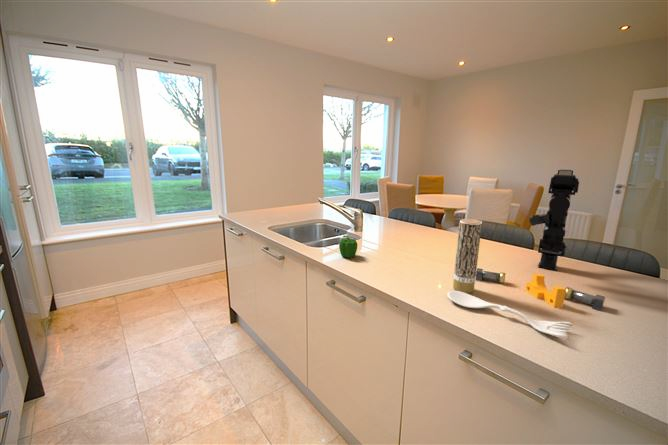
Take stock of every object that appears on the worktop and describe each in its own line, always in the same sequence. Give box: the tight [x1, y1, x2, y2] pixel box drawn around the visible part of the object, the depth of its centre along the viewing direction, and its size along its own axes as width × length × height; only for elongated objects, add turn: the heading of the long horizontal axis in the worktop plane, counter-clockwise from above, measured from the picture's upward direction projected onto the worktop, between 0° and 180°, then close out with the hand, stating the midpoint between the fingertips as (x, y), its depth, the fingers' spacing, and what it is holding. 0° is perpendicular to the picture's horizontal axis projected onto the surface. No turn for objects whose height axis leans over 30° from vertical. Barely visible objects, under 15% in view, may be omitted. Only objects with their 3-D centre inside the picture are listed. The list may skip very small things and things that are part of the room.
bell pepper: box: [338, 235, 358, 259], centre depth 135 cm, size 8×8×10 cm
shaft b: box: [475, 267, 506, 285], centre depth 111 cm, size 10×4×4 cm, turn 62°
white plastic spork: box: [447, 289, 573, 340], centre depth 87 cm, size 9×32×3 cm, turn 46°
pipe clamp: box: [525, 273, 566, 309], centre depth 98 cm, size 12×4×6 cm, turn 178°
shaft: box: [564, 286, 606, 312], centre depth 95 cm, size 10×4×4 cm, turn 42°
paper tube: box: [452, 218, 483, 294], centre depth 101 cm, size 7×7×25 cm
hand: (550, 248), depth 112 cm, fingers closed
